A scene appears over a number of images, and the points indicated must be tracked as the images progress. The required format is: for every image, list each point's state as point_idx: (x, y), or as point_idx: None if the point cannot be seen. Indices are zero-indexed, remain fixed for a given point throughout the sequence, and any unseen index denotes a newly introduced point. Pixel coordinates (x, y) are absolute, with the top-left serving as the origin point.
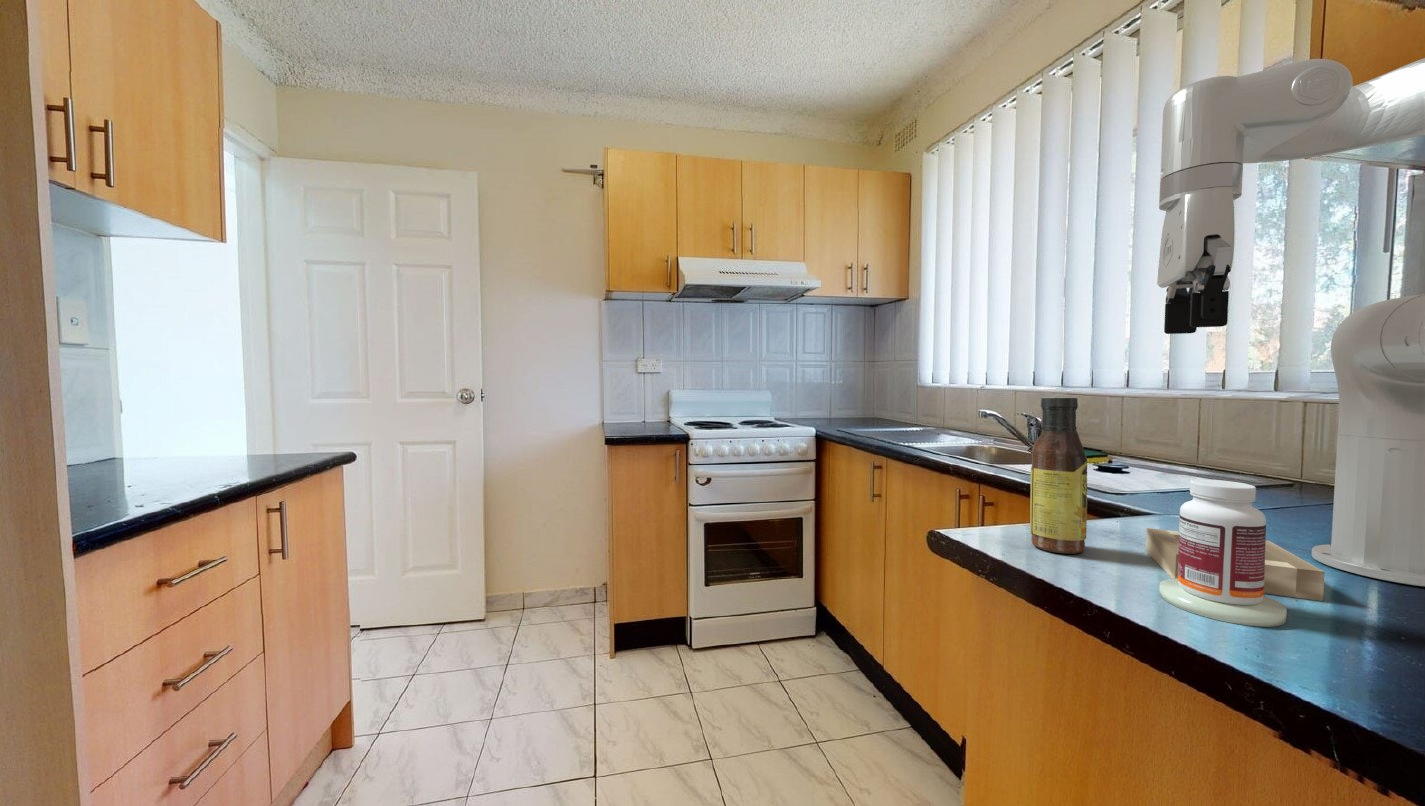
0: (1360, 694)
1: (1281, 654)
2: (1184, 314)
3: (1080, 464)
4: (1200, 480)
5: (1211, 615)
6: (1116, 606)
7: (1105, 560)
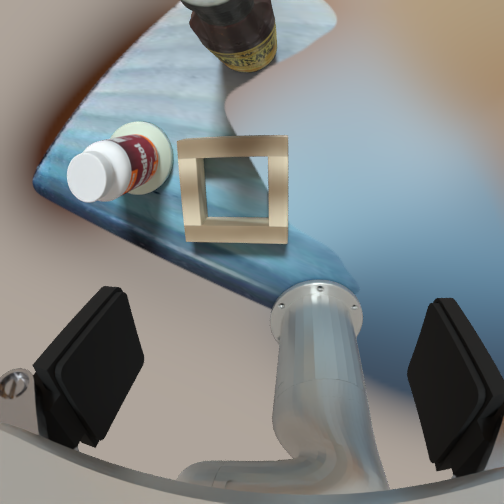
0: (55, 188)
1: None
2: (436, 400)
3: (205, 45)
4: (93, 162)
5: None
6: (102, 93)
7: (226, 89)
